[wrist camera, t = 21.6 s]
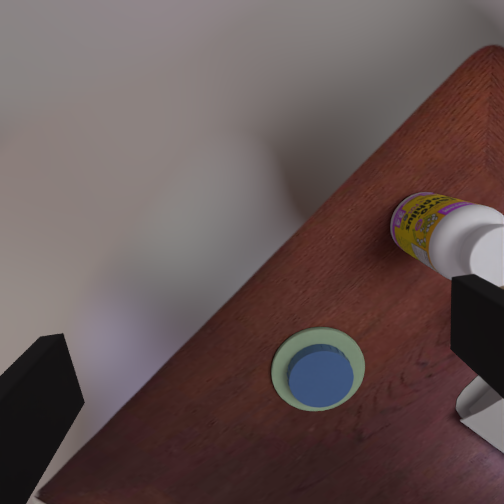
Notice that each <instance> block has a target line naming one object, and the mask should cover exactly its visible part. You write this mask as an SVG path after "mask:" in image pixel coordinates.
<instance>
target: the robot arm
mask: <svg viewBox="0 0 504 504" xmlns="http://www.w3.org/2000/svg"><path fill="white" fill-rule="evenodd" d="M450 349H451V350H452V351H453V352H454V353H455V354H456V355H457V356H458V357H459V358H461V359H462V360H463V361H464V362H465V363H466V364H467V365H468V366H469V367H470V368H471V369H472V370H473V371H474V372H475V373H477V374H478V375H479V376H480V377H481V378H482V379H483V380H484V381H485V382H486V383H487V384H488V385H489V386H490V387H491V388H493V389H494V390H495V391H496V392H497V393H498V394H499V395H500V396H501V397H502V398H503V399H504V289H502V288H500V287H498V286H496V285H494V284H493V283H491V282H489V281H487V280H485V279H483V278H481V277H479V276H478V275H476V274H469V275H462V276H455V277H452V288H451V346H450ZM84 403H85V402H84V399H83V395H82V393H81V389H80V386H79V383H78V379H77V376H76V373H75V370H74V366H73V364H72V360H71V357H70V354H69V351H68V347H67V344H66V341H65V338H64V334H63V333H62V334H55V335H48V336H42V337H39V338H38V339H37V340H36V341H35V342H34V343H33V344H32V345H31V346H30V347H29V348H28V349H27V350H26V351H25V352H24V353H23V354H22V355H21V356H20V357H19V358H18V359H17V360H16V361H15V362H14V363H13V364H12V365H11V366H10V367H9V368H8V369H7V370H6V371H5V372H4V373H3V374H2V375H1V376H0V504H26V503H27V501H28V499H29V498H30V496H31V494H32V492H33V491H34V489H35V487H36V486H37V484H38V482H39V480H40V479H41V477H42V475H43V474H44V472H45V470H46V468H47V467H48V465H49V463H50V461H51V460H52V458H53V456H54V455H55V453H56V451H57V449H58V448H59V446H60V444H61V442H62V441H63V439H64V437H65V436H66V434H67V432H68V431H69V429H70V427H71V425H72V424H73V422H74V420H75V419H76V417H77V415H78V413H79V412H80V410H81V408H82V406H83V405H84Z"/></svg>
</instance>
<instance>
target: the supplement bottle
mask: <svg viewBox="0 0 504 504" xmlns="http://www.w3.org/2000/svg"><path fill="white" fill-rule="evenodd" d="M390 230H391V235H392V238H393V240H394V241H395V243H396V244H397V245H398V246H399V247H400V248H401V249H402V250H403V251H405V252H406V253H408V254H409V255H411V256H413V257H414V258H416V259H417V260H419V261H421V262H422V263H424V264H425V265H427V266H429V267H430V268H432V269H433V270H435V271H436V272H438V273H439V274H441V275H443V276H444V277H446V278H448V279H450V280H452V277H455V276H462V275H469V274H476V275H478V276H479V277H481V278H483V279H485V280H487V281H489V282H491V283H493V284H494V285H496V286H498V287H500V286H504V216H503V215H502V214H501V213H500V212H498V211H497V210H495V209H493V208H490V207H487V206H484V205H479V204H475V203H471V202H467V201H463V200H459V199H455V198H451V197H447V196H443V195H439V194H436V193H431V192H421V193H416V194H414V195H411V196H409V197H407V198H406V199H405V200H403V201H402V202H401V203H400V204H399V205H398V207H397V208H396V209H395V211H394V213H393V215H392V218H391V224H390Z"/></svg>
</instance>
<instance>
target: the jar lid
mask: <svg viewBox="0 0 504 504" xmlns="http://www.w3.org/2000/svg"><path fill="white" fill-rule="evenodd" d="M287 377H288V380H287V381H288V385H289V386H290V390H291V393H292V394H293V396H294V397H295V398H296V399H297V400H298V401H299V402H301V403H303V404H304V405H307V406H310V407H317V408H321V407H328V406H331V405H333V404H336V403H337V402H339V401H341V400H342V399H343V398H344V397H345V396H346V395H347V394H348V393H349V391H350V389H351V387H352V384H353V380H354V374H353V369H352V367H351V365H350V361H349V360H348V358H347V357H346V356H345V354H344V353H343V352H342V351H341V350H339V349H338V348H337V347H334V346H331V345H327V344H314V345H310V346H307V347H304V348H303V349H302V350H300V351H299V352H297V353H296V354H295V355H294V357H293V358H292V359H291V361H290V363H289V365H288V370H287Z"/></svg>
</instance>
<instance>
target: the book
mask: <svg viewBox="0 0 504 504" xmlns="http://www.w3.org/2000/svg"><path fill="white" fill-rule="evenodd" d="M456 410H457V412H458V413H459V415H460V416H461V417H462V418H463V419H461V420H460V421H461V422H462V423H464V424H465V425H466V426H468V427H469V428H470V429H472V430H473V431H474V432H476V433H477V434H478V435H480V436H481V437H482V438H484V439H485V440H486V441H488V442H489V443H491V444H492V445H493V446H495V447H496V448H497V449H499V450H500V451H501V452H503V453H504V399H503V398H502V397H501V396H500V395H499V394H498V393H497V392H496V391H495V390H494V389H493V388H491V387H490V386H489V385H488V384H487V383H486V382H485V381H484V380H483V379H482V378H481V377H480V376H479V375H478V376H477V377H476V378H475V379H474V380H473V381H472V382H471V383H470V384H469V385H468V386H466V387H465V388H464V390H463V391H462V392H461V394H460V395H459V397H458V398H457V402H456Z"/></svg>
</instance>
